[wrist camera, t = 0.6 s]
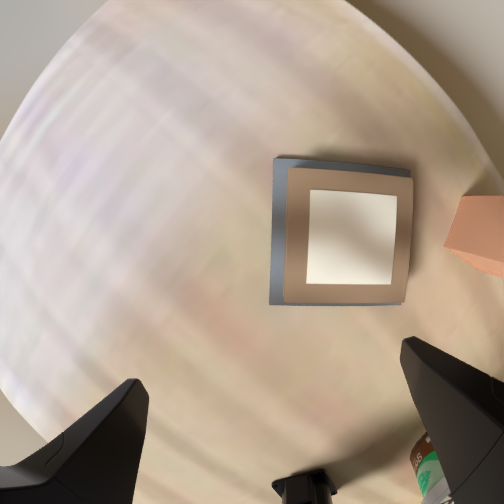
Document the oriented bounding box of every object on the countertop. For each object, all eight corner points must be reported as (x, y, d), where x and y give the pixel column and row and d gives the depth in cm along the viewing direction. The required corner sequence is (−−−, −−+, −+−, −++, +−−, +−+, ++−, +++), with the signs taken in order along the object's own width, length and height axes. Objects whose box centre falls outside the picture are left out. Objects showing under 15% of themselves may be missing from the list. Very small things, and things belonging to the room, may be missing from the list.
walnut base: (398, 302, 22) (413, 314, 19) (269, 302, 23) (269, 316, 20) (407, 170, 21) (424, 166, 18) (273, 159, 21) (274, 151, 18)
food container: (395, 437, 25) (425, 500, 15) (442, 412, 24) (481, 466, 14) (405, 483, 26) (425, 533, 16) (444, 462, 25) (470, 508, 15)
